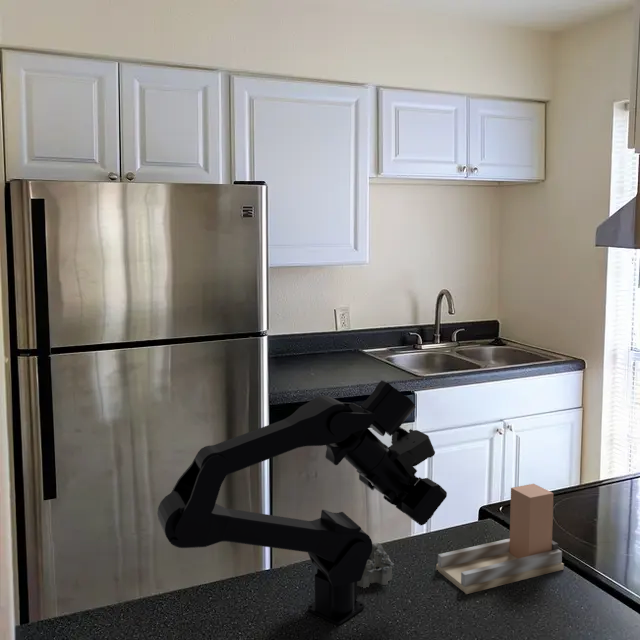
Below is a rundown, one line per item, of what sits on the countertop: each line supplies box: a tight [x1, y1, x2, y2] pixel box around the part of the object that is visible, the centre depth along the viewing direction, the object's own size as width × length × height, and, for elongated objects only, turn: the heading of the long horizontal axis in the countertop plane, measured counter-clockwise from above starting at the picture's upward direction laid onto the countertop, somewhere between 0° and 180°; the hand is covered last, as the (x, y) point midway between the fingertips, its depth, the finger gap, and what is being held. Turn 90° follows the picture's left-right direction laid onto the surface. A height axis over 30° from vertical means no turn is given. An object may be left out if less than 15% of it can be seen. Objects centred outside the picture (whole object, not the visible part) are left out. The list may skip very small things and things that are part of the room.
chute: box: [435, 537, 565, 595], centre depth 114 cm, size 20×9×4 cm, turn 113°
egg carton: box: [357, 542, 395, 589], centre depth 114 cm, size 11×8×4 cm
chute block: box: [509, 483, 554, 559], centre depth 116 cm, size 5×5×12 cm
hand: (430, 515), depth 108 cm, fingers closed
